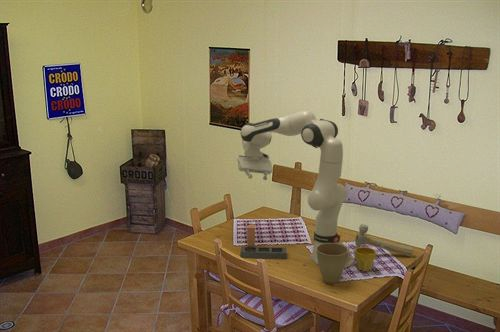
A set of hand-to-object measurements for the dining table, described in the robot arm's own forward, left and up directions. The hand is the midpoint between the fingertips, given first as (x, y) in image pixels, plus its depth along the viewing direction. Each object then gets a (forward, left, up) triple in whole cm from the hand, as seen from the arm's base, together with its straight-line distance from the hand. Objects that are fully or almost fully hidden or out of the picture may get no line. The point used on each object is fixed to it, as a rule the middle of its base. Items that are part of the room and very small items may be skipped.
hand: (257, 178), depth 293 cm
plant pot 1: (-52, +21, -37) cm, 67 cm away
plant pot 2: (-62, +1, -37) cm, 72 cm away
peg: (0, +6, -37) cm, 38 cm away
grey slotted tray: (-11, +12, -37) cm, 41 cm away
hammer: (-65, -21, -37) cm, 78 cm away
